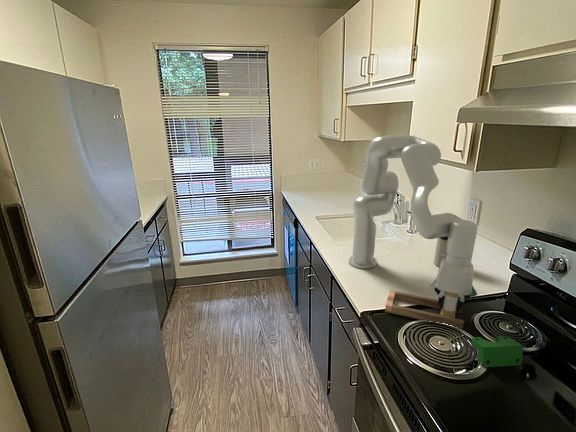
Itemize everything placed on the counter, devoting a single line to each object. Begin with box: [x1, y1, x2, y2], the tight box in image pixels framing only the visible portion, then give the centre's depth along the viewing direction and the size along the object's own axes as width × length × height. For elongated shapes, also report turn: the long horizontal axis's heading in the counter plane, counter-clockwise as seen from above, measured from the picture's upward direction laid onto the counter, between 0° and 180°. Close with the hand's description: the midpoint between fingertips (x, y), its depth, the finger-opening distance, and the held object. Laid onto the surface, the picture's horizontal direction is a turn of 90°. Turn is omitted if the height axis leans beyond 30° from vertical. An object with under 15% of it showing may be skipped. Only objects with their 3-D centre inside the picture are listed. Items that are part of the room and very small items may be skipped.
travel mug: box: [433, 236, 448, 268], centre depth 145 cm, size 8×8×18 cm
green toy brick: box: [471, 335, 524, 368], centre depth 91 cm, size 12×6×9 cm, turn 89°
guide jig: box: [384, 290, 465, 330], centre depth 113 cm, size 11×24×2 cm, turn 66°
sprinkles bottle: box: [440, 292, 460, 318], centre depth 108 cm, size 5×5×13 cm
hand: (449, 307), depth 109 cm, fingers closed on sprinkles bottle, 4 cm apart
